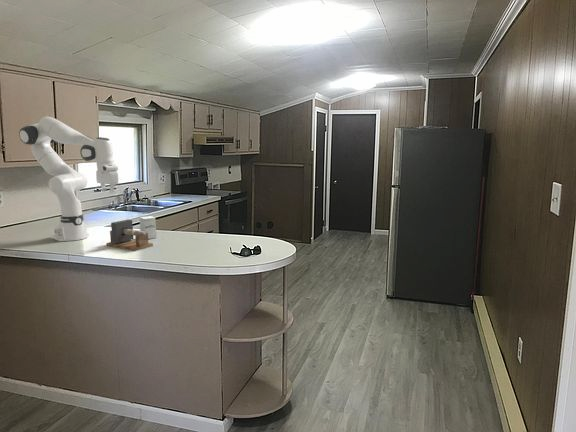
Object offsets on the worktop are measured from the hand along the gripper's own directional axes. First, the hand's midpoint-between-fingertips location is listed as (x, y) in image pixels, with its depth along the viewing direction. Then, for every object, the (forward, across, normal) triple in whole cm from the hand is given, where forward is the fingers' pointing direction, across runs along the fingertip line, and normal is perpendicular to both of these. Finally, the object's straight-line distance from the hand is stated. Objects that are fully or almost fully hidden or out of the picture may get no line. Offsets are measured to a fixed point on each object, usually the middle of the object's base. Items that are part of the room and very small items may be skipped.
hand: (108, 191), depth 255 cm
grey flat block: (+27, +7, +3) cm, 28 cm away
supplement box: (+30, +2, +21) cm, 37 cm away
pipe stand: (+30, +12, +4) cm, 32 cm away
